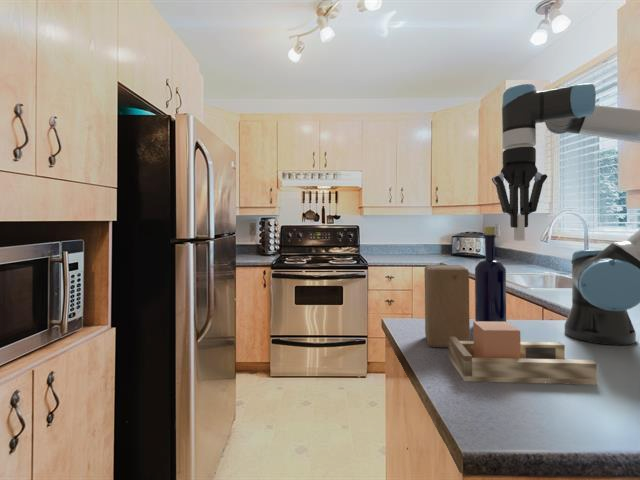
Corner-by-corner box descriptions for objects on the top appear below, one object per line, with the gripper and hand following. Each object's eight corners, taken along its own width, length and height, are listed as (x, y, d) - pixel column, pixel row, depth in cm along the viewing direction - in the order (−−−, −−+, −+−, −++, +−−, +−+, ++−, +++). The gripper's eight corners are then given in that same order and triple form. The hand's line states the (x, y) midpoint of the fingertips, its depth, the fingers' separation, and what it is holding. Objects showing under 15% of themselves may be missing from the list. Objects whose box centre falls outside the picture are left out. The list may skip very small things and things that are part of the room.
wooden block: (470, 349, 90) (469, 268, 89) (428, 347, 92) (427, 268, 91) (463, 337, 100) (462, 264, 99) (425, 336, 102) (424, 264, 101)
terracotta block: (506, 357, 80) (506, 321, 80) (520, 370, 73) (520, 330, 73) (473, 357, 81) (473, 321, 81) (484, 369, 74) (483, 330, 74)
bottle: (514, 331, 104) (513, 226, 103) (481, 332, 104) (480, 227, 103) (498, 323, 113) (498, 226, 112) (468, 323, 114) (467, 227, 113)
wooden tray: (559, 359, 82) (559, 337, 82) (596, 384, 69) (596, 358, 69) (448, 357, 85) (448, 336, 84) (464, 381, 72) (464, 356, 72)
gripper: (538, 150, 97) (539, 239, 98) (487, 152, 99) (488, 240, 99) (553, 144, 90) (553, 240, 90) (497, 146, 91) (498, 241, 92)
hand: (519, 240), depth 95 cm, fingers closed
